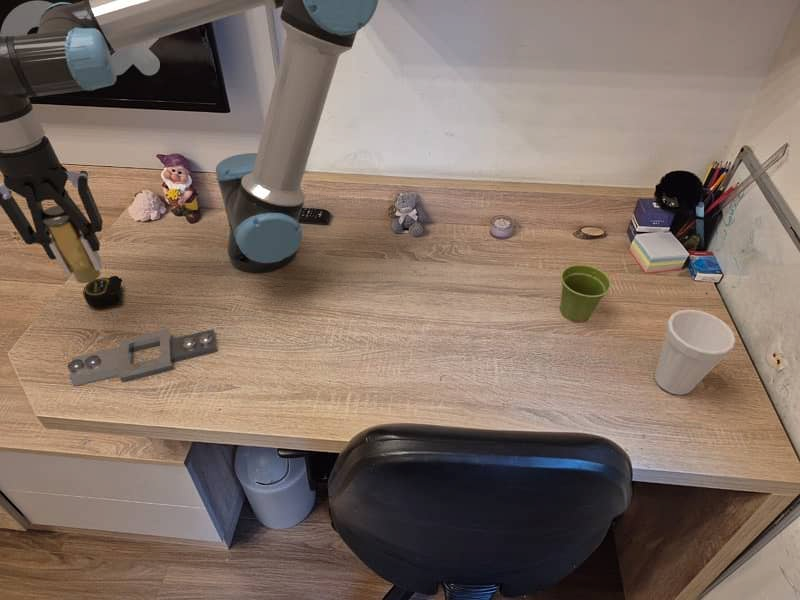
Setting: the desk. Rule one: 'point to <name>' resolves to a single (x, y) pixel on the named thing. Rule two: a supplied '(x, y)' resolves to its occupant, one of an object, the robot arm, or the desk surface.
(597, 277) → the plant pot
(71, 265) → the link pin
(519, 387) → the desk surface
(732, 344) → the cup
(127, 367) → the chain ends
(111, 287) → the tape measure
